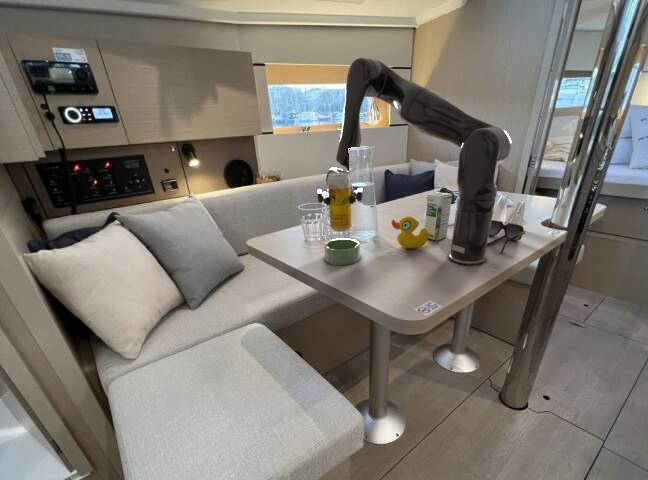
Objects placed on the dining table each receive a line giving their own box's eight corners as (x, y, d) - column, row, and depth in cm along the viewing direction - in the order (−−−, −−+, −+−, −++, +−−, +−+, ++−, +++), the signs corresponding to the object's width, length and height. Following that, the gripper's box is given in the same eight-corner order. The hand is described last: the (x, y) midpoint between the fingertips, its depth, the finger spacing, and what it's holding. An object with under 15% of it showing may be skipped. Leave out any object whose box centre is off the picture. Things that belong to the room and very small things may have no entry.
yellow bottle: (326, 230, 91) (322, 175, 83) (338, 224, 95) (335, 171, 88) (344, 233, 88) (342, 176, 80) (355, 227, 92) (354, 172, 85)
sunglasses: (458, 243, 102) (460, 227, 100) (482, 232, 111) (485, 218, 108) (501, 253, 93) (505, 237, 90) (524, 241, 101) (528, 225, 99)
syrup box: (422, 237, 109) (426, 193, 102) (433, 233, 112) (438, 191, 105) (436, 241, 105) (441, 196, 98) (447, 237, 108) (453, 193, 101)
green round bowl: (340, 250, 102) (339, 236, 100) (366, 256, 96) (366, 242, 94) (318, 260, 96) (317, 245, 93) (344, 268, 89) (343, 253, 87)
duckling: (389, 249, 100) (390, 218, 95) (391, 244, 105) (392, 214, 100) (426, 251, 97) (429, 219, 92) (427, 245, 102) (430, 214, 97)
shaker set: (485, 224, 119) (491, 193, 113) (492, 222, 121) (498, 192, 115) (515, 231, 110) (522, 198, 104) (522, 229, 111) (530, 197, 106)
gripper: (316, 177, 98) (312, 187, 83) (363, 175, 97) (366, 185, 83) (318, 202, 102) (314, 215, 87) (363, 199, 101) (366, 213, 87)
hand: (339, 200), depth 85 cm, fingers closed on yellow bottle, 6 cm apart
